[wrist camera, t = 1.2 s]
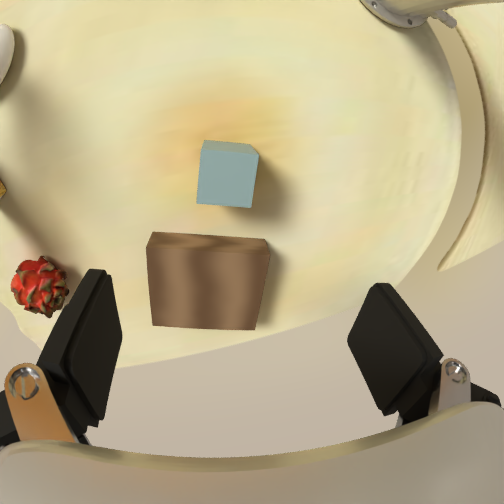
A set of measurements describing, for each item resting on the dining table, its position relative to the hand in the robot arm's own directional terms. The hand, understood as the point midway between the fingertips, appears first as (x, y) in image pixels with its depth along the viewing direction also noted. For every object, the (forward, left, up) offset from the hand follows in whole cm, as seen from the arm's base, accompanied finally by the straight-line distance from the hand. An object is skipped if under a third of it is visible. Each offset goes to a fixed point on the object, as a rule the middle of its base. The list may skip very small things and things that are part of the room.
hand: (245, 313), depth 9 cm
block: (0, 0, -24) cm, 24 cm away
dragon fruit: (+26, +17, -24) cm, 39 cm away
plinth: (+1, +15, -24) cm, 28 cm away
